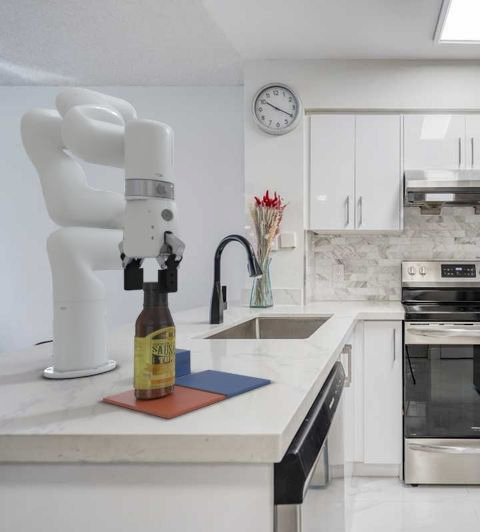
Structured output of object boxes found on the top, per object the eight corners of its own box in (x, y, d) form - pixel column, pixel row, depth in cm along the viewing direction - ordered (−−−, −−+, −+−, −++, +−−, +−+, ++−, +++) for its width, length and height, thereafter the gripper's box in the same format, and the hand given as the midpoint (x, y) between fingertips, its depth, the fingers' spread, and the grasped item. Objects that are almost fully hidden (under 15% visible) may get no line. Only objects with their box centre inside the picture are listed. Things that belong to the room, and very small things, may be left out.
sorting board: (102, 401, 71) (102, 397, 71) (208, 372, 90) (208, 368, 90) (168, 419, 63) (168, 414, 63) (270, 382, 82) (270, 379, 82)
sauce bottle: (156, 402, 69) (154, 282, 69) (124, 400, 70) (122, 282, 70) (184, 390, 75) (183, 280, 75) (154, 388, 76) (153, 280, 76)
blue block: (153, 376, 87) (153, 352, 87) (175, 370, 91) (175, 348, 91) (168, 379, 84) (168, 355, 84) (190, 373, 89) (190, 350, 89)
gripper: (202, 193, 72) (202, 292, 72) (142, 199, 80) (142, 288, 80) (160, 187, 65) (160, 295, 66) (99, 193, 73) (99, 290, 74)
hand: (150, 291), depth 73 cm, fingers open, 9 cm apart
